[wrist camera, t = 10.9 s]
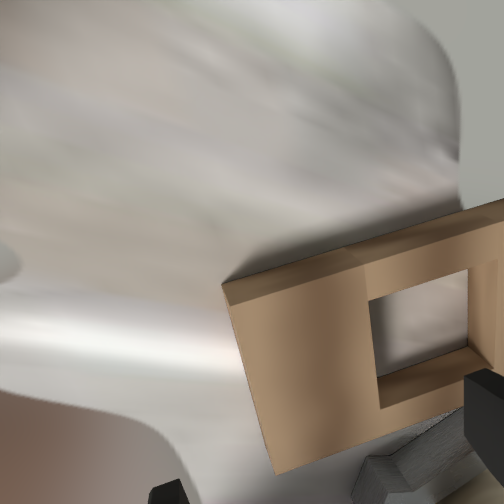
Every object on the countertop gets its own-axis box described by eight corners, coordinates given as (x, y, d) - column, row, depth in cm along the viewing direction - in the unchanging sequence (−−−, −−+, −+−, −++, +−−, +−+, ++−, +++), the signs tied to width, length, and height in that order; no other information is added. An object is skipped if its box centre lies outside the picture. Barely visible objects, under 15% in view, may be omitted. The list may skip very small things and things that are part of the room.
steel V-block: (327, 555, 28) (344, 597, 26) (394, 384, 24) (421, 416, 22) (431, 545, 31) (455, 582, 29) (509, 388, 27) (544, 417, 24)
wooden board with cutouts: (265, 444, 23) (275, 475, 22) (221, 284, 19) (229, 306, 17) (555, 340, 26) (586, 360, 24) (572, 177, 22) (612, 187, 20)
